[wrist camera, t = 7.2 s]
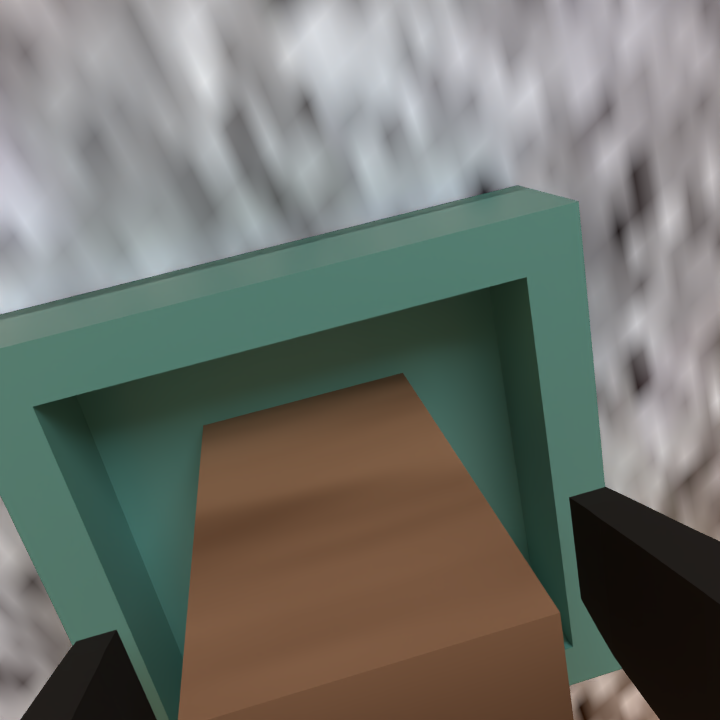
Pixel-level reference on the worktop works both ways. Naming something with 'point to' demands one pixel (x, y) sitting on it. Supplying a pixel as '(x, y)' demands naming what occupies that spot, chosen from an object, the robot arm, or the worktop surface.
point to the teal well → (296, 382)
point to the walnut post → (359, 574)
